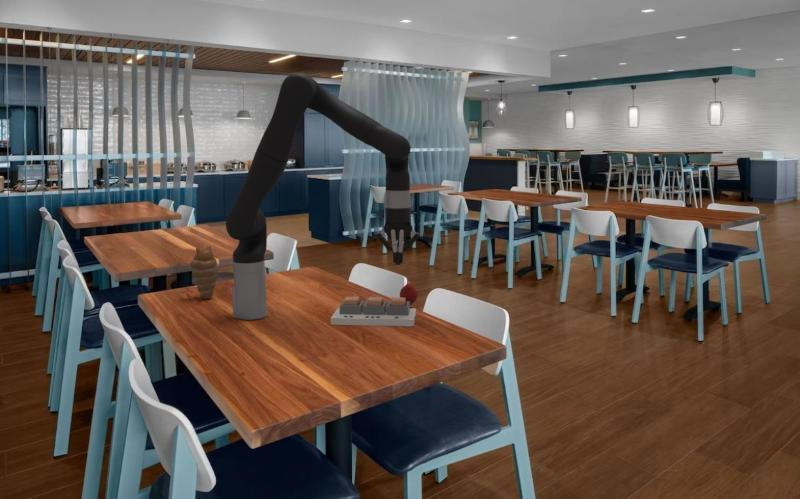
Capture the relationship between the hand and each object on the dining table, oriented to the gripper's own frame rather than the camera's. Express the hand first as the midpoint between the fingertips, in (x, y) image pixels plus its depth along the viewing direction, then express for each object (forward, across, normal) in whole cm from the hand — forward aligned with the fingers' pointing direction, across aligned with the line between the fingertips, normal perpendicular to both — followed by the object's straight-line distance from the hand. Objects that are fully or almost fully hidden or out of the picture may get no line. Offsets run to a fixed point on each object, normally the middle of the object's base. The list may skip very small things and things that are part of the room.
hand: (398, 264), depth 177 cm
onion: (+17, +2, +14) cm, 22 cm away
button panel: (+16, -7, -2) cm, 18 cm away
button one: (+13, 0, 0) cm, 13 cm away
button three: (+12, -7, 0) cm, 14 cm away
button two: (+13, -14, 0) cm, 19 cm away
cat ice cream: (+17, -67, +18) cm, 71 cm away
